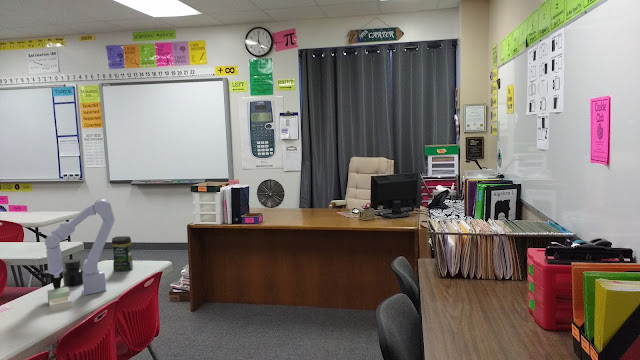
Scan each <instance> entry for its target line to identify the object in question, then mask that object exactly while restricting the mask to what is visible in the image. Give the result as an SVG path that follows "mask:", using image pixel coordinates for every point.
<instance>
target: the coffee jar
mask: <svg viewBox="0 0 640 360" xmlns="http://www.w3.org/2000/svg"><path fill="white" fill-rule="evenodd" d="M111 247H112V249H113V265H112V266H113V271H115V272H126V271H125V270H127V271H129V269H130V270H132V269H133V268H134V264H133V257H132V249H131V247H132V239H131V236H128V235H127V236H124V235H123V236H114V237H112V239H111ZM131 268H132V269H131Z"/></svg>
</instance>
